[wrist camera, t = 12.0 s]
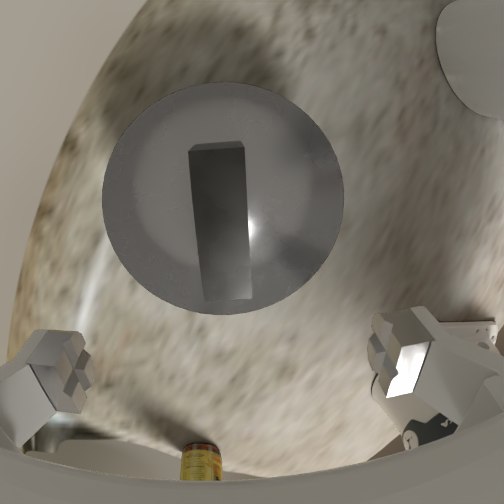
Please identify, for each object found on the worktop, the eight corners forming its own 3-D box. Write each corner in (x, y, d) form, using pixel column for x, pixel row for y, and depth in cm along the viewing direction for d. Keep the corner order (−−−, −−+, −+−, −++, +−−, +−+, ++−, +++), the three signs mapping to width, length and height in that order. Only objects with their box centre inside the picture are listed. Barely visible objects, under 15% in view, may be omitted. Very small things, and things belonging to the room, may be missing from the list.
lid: (334, 84, 18) (370, 77, 13) (328, 290, 25) (352, 335, 19) (100, 101, 18) (60, 100, 12) (133, 304, 24) (115, 352, 19)
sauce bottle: (220, 460, 45) (225, 566, 27) (182, 457, 44) (179, 564, 26) (222, 440, 42) (228, 560, 24) (181, 438, 42) (175, 557, 24)
